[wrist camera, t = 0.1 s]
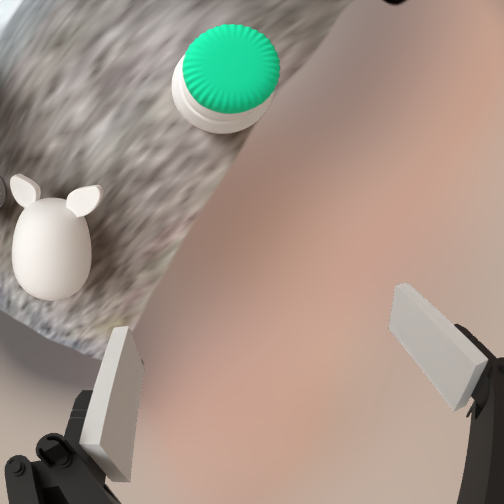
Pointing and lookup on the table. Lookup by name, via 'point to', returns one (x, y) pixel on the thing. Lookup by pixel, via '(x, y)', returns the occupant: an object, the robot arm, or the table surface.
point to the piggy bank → (52, 239)
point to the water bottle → (226, 79)
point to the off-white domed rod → (2, 192)
